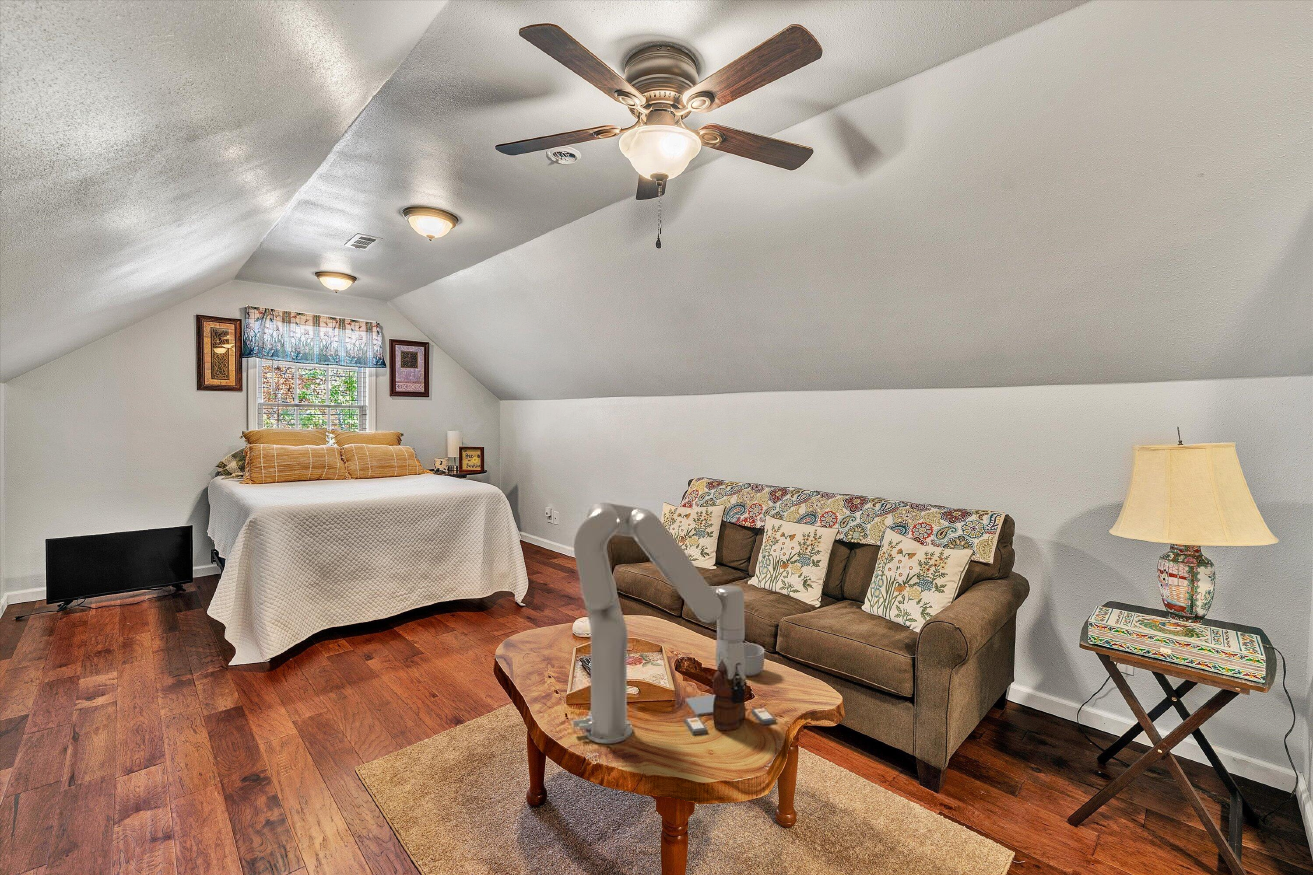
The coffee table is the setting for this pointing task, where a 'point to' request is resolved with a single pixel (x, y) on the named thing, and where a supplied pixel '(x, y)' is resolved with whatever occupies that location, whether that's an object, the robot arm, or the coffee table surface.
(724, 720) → the wooden figurine
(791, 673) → the coffee table surface
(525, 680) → the coffee table surface
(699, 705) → the mat
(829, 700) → the coffee table surface
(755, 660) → the teacup
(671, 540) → the robot arm
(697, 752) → the coffee table surface
